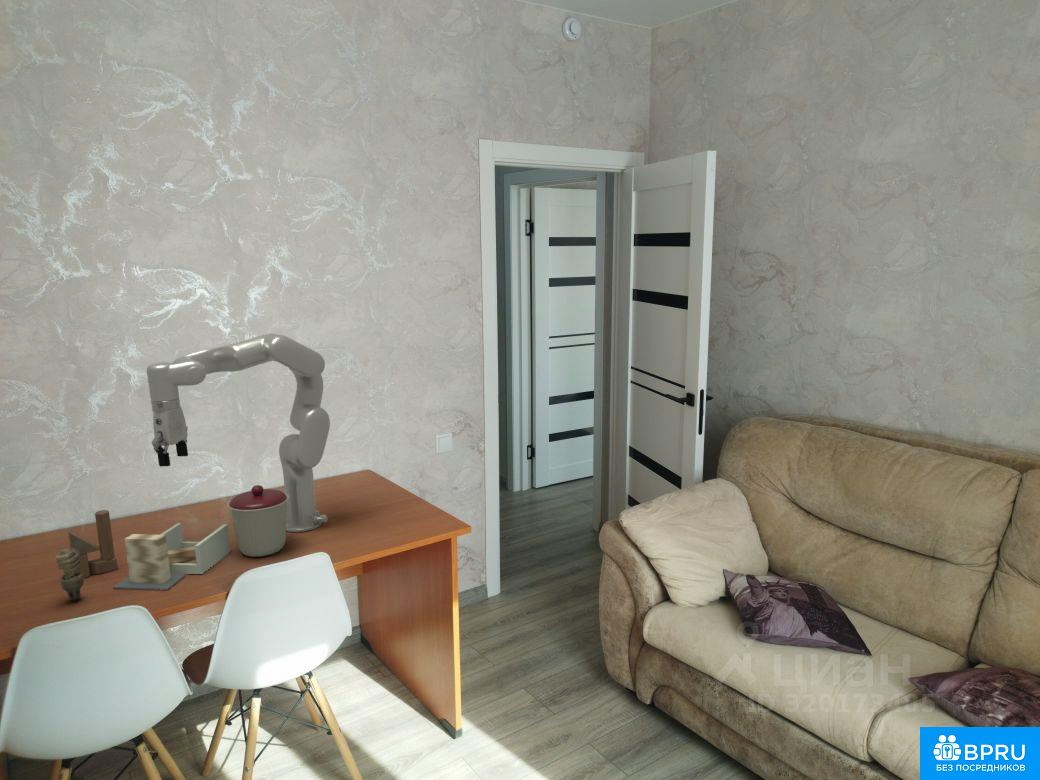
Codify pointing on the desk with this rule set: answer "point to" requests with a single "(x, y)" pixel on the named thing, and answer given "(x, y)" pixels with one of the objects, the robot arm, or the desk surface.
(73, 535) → the brown wooden angled piece
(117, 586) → the slate pad
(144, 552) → the birch block
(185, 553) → the oak offcut
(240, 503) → the canister
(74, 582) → the light bulb
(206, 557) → the tray
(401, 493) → the desk surface
